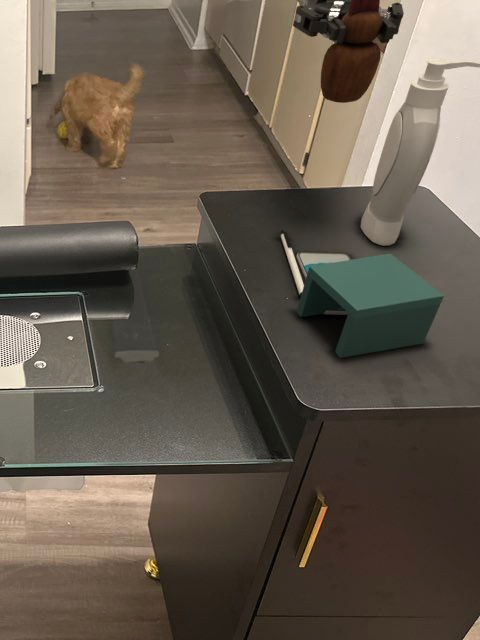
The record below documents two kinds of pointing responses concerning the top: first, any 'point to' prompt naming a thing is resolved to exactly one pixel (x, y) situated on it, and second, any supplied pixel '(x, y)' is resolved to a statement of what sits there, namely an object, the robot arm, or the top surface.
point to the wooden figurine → (353, 54)
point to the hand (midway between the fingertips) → (364, 35)
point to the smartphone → (318, 259)
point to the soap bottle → (407, 152)
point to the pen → (292, 262)
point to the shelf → (372, 303)
